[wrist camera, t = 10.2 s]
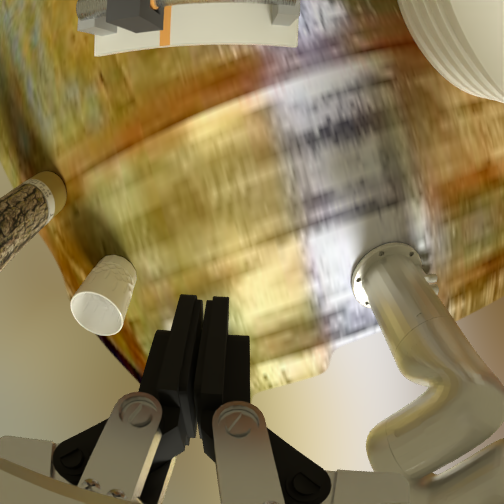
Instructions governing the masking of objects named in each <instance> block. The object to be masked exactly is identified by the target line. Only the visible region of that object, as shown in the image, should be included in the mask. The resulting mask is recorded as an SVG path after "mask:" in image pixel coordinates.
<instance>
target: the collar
mask: <svg viewBox="0 0 504 504" xmlns="http://www.w3.org/2000/svg"><path fill="white" fill-rule="evenodd" d="M106 22H107V23H110V24H113V25H115V26H118V27H121V28H124V29H126V30H129V31H132V32H134V33H142V32H150V31H159V30H163V22H164V7H159V8H158V9H155V10H153V9H151V8H150V0H107V9H106Z"/></svg>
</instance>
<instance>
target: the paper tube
mask: <svg viewBox="0 0 504 504" xmlns="http://www.w3.org/2000/svg"><path fill="white" fill-rule="evenodd" d="M66 197H67V195H66V188H65V185H64V183H63V181H62V180H61V178H60V177H59V176H58V175H56V174H55V173H53V172H50V171H43V172H40V173H38V174H36V175H35V176H33V177H32V178H30V179H28V180H27V181H25V182H24V183H22V184H21V185H19V186H18V187H16V188H15V189H13V190H12V191H10V192H9V193H7V194H6V195H4V196H3V197H2V198H0V272H1V271H2V270H3V269H4V267H5V266H6V265H7V264H8V263H9V262H10V261H11V259H12V258H14V257H15V255H16V254H17V253H18V252H19V251H20V250H21V249H22V248H23V247H24V246H25V245H26V244H27V243H28V242H29V241H30V240H31V239H32V238H33V237H34V236H35V235H36V234H37V233H38V232H39V231H40V230H41V229H42V228H43V227H44V226H45V225H46V224H47V223H48V222H49V221H50V220H51V219H52V218H53V217H54V216H55V215H56V214H57V213H59V212H60V211H61V210H62V208H63V207H64V205H65V203H66Z"/></svg>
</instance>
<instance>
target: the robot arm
mask: <svg viewBox="0 0 504 504" xmlns="http://www.w3.org/2000/svg"><path fill="white" fill-rule="evenodd" d="M436 281H437V275H436V274H429V275H426V273H425V272H424V271H423V270H422V262H421V259H420V256H419V255H418V253H417V252H416V251H415V250H414V249H413V248H412V247H411V246H409V245H407V244H404V243H398V242H393V243H387V244H384V245H381V246H379V247H377V248H375V249H373V250H372V251H370V252H369V253H368V254H367V255H366V256H365V257H364V258H363V259H362V260H361V261H360V262H359V264H358V265H357V267H356V269H355V271H354V273H353V276H352V283H351V285H352V291H353V293H354V296H355V298H356V299H357V301H358V302H359V303H360V304H362V305H363V306H365V307H368V308H371V309H372V311H373V313H374V315H375V317H376V320H377V322H378V324H379V326H380V328H381V330H382V333H383V335H384V337H385V339H386V341H387V344H388V346H389V348H390V350H391V353H392V355H393V357H394V359H395V362H396V364H397V366H398V368H399V370H400V372H401V373H402V374H403V376H404V377H406V378H407V379H408V380H410V381H412V382H414V383H417V384H419V385H423V386H427V387H429V388H428V389H427V391H426V392H424V393H423V394H422V395H421V396H419V397H418V398H417V399H416V400H414V401H413V402H411V403H410V404H408V405H407V406H405V407H403V408H402V409H400V410H399V411H397V412H396V413H394V414H392V415H391V416H389V417H388V418H386V419H385V420H383V421H382V422H380V423H379V424H377V425H376V426H375V427H374V428H373V429H372V430H371V431H370V433H369V435H368V437H367V441H366V451H367V455H368V458H369V461H370V464H371V466H372V468H373V470H374V472H365V471H363V472H362V471H349V470H337V471H326V470H323V468H321V467H320V466H318V465H317V464H315V463H314V462H313V461H311V460H310V459H308V458H307V457H305V456H304V455H303V454H301V453H300V452H299V451H297V450H296V449H295V448H293V447H292V446H290V445H289V444H288V443H286V442H285V441H284V440H282V439H281V438H280V437H279V436H277V435H276V434H275V433H273V432H272V431H271V430H269V429H268V428H267V427H266V422H265V418H264V416H263V414H262V412H261V411H260V410H259V409H258V408H257V407H256V406H254V405H252V404H251V403H250V339H249V336H242V335H228V320H229V297H216V296H213V300H207V302H206V309H205V315H204V321H203V301H202V300H197V296H196V295H183V294H181V295H180V298H179V301H178V305H177V309H176V312H175V316H174V320H173V324H172V327H171V331H167V330H157V331H156V333H155V336H154V339H153V342H152V346H151V349H150V353H149V356H148V359H147V363H146V366H145V370H144V373H143V377H142V380H141V384H140V388H139V391H138V392H133V393H129V394H127V395H124V396H123V397H122V398H120V399H119V400H118V402H117V403H116V404H115V406H114V408H113V411H112V412H111V415H110V417H109V418H108V419H106V420H104V421H102V422H101V423H99V424H97V425H95V426H93V427H91V428H89V429H87V430H85V431H83V432H81V433H79V434H78V435H75V436H73V437H71V438H69V439H67V440H65V441H63V442H62V443H60V444H56V443H54V442H53V441H47V440H38V439H29V438H22V437H15V436H3V437H1V438H0V504H162V503H163V499H164V496H165V493H166V490H167V486H168V483H169V480H170V477H171V474H172V470H173V467H174V464H175V461H176V456H177V455H178V454H180V453H181V452H183V451H184V450H185V445H189V441H190V438H195V437H196V430H197V422H198V429H199V435H200V438H201V439H202V440H203V446H204V453H206V454H207V455H208V456H209V457H210V458H211V459H212V460H213V461H214V462H215V464H216V471H217V479H218V486H219V494H220V500H221V504H504V438H503V439H499V440H497V441H495V442H493V443H491V444H490V445H488V446H486V447H485V448H483V449H482V450H480V451H478V452H477V453H475V454H473V455H472V456H470V457H469V458H467V459H465V460H464V461H462V462H460V463H459V464H457V465H455V466H453V467H452V468H450V469H448V470H446V471H445V472H443V473H441V474H438V475H437V474H434V473H432V472H434V471H436V470H438V469H440V468H441V467H443V466H445V465H446V464H448V463H450V462H453V461H454V460H456V459H458V458H459V457H461V456H462V455H464V454H466V453H467V452H469V451H471V450H472V449H474V448H475V447H477V446H478V445H480V444H481V443H483V442H484V441H485V440H486V439H488V438H489V437H490V436H491V435H492V434H493V433H494V432H495V431H496V430H497V429H498V428H499V427H500V426H501V424H502V423H503V422H504V386H503V384H502V383H501V381H500V380H499V378H498V377H497V376H496V375H495V374H494V372H493V371H492V370H491V369H490V368H489V367H488V366H487V364H486V363H485V362H484V361H483V360H482V358H481V357H480V356H479V355H478V354H477V352H476V351H475V350H474V348H473V347H472V345H471V344H470V343H469V341H468V340H467V338H466V337H465V335H464V334H463V333H462V331H461V330H460V328H459V327H458V325H457V323H456V322H455V320H454V319H453V318H452V316H451V315H450V313H449V312H448V310H447V309H446V307H445V306H444V304H443V303H442V302H441V300H440V299H439V297H438V296H437V294H438V291H439V288H438V286H437V285H436V284H435V285H429V283H428V282H436Z"/></svg>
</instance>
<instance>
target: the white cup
mask: <svg viewBox="0 0 504 504" xmlns="http://www.w3.org/2000/svg"><path fill="white" fill-rule="evenodd" d="M136 280H137V277H136V270H135V269H134V267H133V266H132V264H131V263H130V262H129V261H127V260H126V259H125V258H123V257H120V256H117V255H109V256H105V257H104V258H102V259H101V260H100V261H99V262H98V264H97V265H96V267H95V268H94V269H93V270H92V271H91V272H90V274H89V275H88V276H87V277H86V279H85V280H84V282H83V283H82V285H81V286H80V287H79V289H78V290H77V292H76V293H75V295H74V296H73V298H72V300H71V304H70V307H71V311H72V314H73V316H74V318H75V319H76V320H77V322H78V323H79V324H80V325H81V326H83V327H84V328H85V329H87V330H88V331H91V332H92V333H95V334H98V335H104V336H109V335H113V334H116V333H118V332H119V331H120V330H121V328H122V326H123V323H124V319H125V316H126V313H127V310H128V307H129V304H130V301H131V297H132V294H133V289H134V286H135V283H136Z"/></svg>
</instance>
